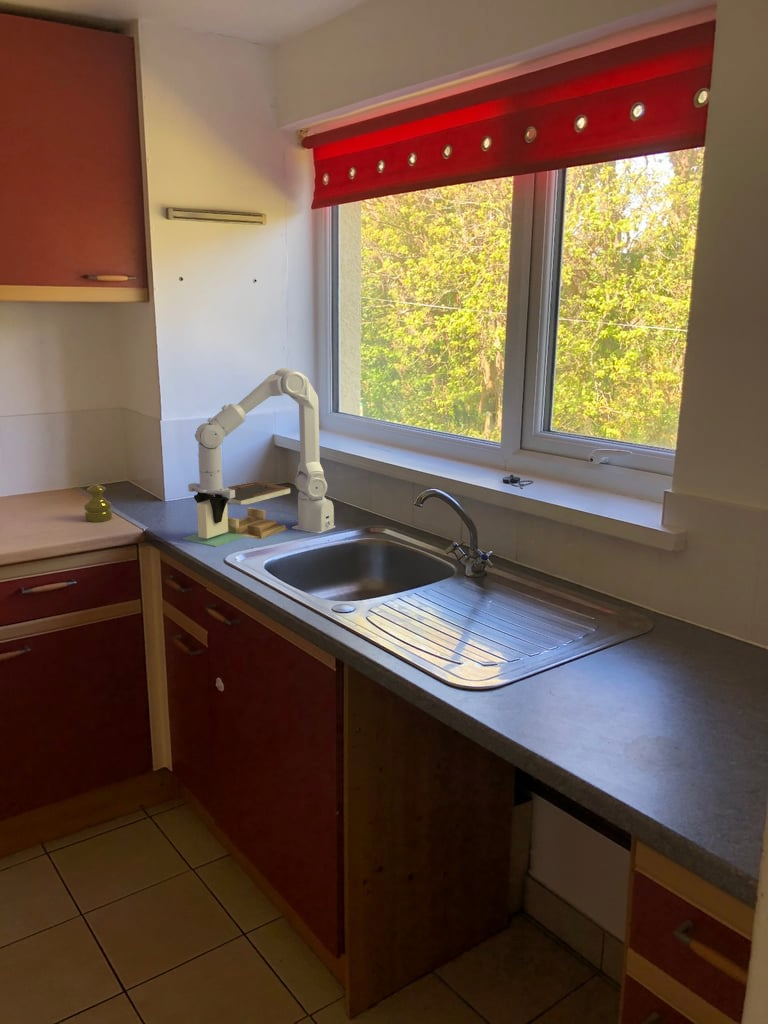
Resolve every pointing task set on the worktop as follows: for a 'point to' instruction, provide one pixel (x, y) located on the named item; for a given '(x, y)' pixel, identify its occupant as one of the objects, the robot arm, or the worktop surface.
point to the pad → (214, 539)
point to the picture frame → (256, 492)
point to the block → (210, 521)
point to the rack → (252, 517)
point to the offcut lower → (259, 532)
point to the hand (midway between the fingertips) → (212, 521)
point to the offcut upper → (262, 525)
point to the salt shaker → (97, 505)
